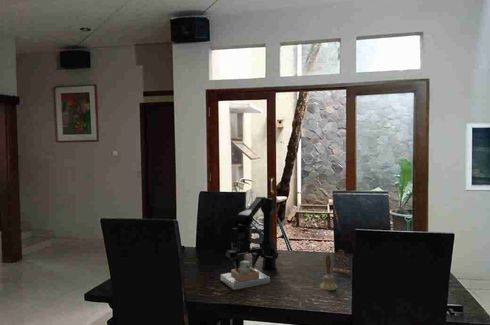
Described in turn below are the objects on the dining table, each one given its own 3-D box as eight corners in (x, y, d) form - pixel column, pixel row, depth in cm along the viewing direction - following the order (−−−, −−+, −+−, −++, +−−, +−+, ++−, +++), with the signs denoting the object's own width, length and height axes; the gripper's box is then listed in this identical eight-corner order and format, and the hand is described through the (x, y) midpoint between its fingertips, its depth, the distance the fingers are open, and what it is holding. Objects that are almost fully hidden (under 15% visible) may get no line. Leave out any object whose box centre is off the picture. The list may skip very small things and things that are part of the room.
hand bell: (327, 291, 191) (327, 258, 190) (316, 286, 198) (316, 254, 198) (341, 288, 195) (341, 255, 194) (330, 283, 202) (329, 251, 201)
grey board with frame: (254, 274, 218) (254, 264, 218) (269, 283, 204) (269, 272, 203) (220, 280, 209) (220, 269, 209) (233, 289, 195) (233, 278, 194)
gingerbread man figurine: (350, 272, 220) (350, 250, 219) (348, 274, 216) (348, 251, 216) (334, 269, 224) (334, 248, 224) (331, 271, 221) (331, 249, 220)
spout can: (247, 273, 209) (247, 260, 209) (253, 277, 203) (253, 263, 203) (238, 275, 207) (238, 261, 207) (244, 278, 201) (244, 265, 201)
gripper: (253, 233, 217) (253, 262, 217) (221, 237, 208) (221, 267, 209) (263, 237, 207) (263, 267, 207) (230, 242, 198) (230, 273, 199)
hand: (244, 269), depth 206 cm, fingers open, 9 cm apart
